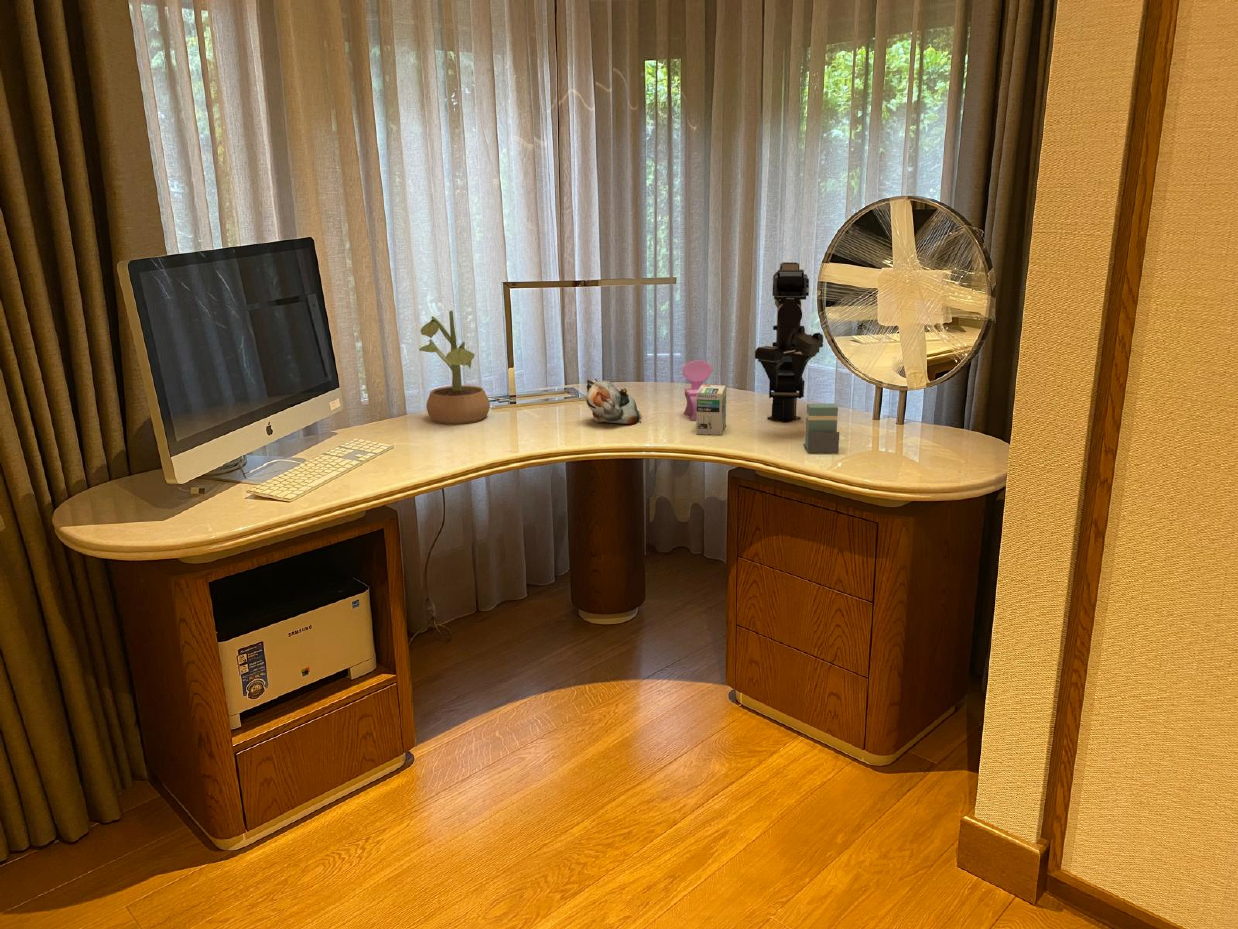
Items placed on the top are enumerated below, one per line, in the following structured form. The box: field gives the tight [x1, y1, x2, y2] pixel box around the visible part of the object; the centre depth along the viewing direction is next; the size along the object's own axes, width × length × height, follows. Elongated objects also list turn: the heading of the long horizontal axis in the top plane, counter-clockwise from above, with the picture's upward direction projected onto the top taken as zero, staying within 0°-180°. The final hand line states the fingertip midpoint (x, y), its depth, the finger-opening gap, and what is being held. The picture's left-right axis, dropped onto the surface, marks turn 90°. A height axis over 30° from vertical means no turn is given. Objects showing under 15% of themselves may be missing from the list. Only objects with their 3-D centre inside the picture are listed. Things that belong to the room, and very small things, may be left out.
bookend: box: [802, 431, 840, 455], centre depth 216 cm, size 7×7×5 cm
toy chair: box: [681, 359, 713, 422], centre depth 247 cm, size 8×9×15 cm
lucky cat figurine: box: [585, 377, 643, 426], centre depth 243 cm, size 15×12×14 cm
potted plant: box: [418, 309, 491, 425], centre depth 244 cm, size 22×18×30 cm
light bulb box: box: [695, 384, 727, 436], centre depth 234 cm, size 11×7×11 cm, turn 168°
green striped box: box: [804, 403, 839, 448], centre depth 215 cm, size 4×6×10 cm, turn 87°
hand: (786, 384), depth 230 cm, fingers open, 9 cm apart
